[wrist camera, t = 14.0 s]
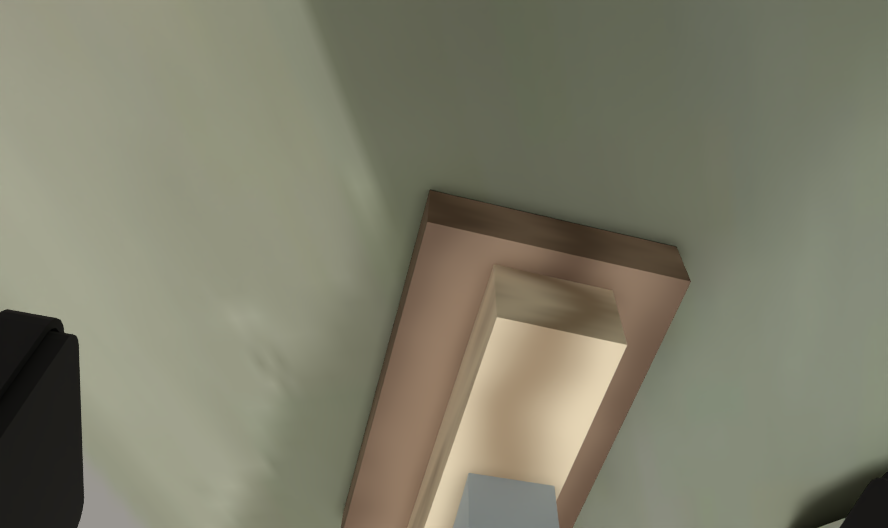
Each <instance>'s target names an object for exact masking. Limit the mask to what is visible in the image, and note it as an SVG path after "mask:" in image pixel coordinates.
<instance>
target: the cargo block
mask: <svg viewBox="0 0 888 528" xmlns="http://www.w3.org/2000/svg"><path fill="white" fill-rule="evenodd" d="M453 528H559V520H558V512H557V504H556V496H555V487H554V486H552V485H545V484H539V483H532V482H526V481H519V480H512V479H506V478H499V477H493V476H486V475H480V474H473V473H468V477H467V480H466V484H465V487H464V491H463V494H462V498H461V501H460V505H459V508H458V511H457V515H456V518H455V522H454V525H453Z"/></svg>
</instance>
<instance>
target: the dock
mask: <svg viewBox="0 0 888 528" xmlns="http://www.w3.org/2000/svg"><path fill="white" fill-rule="evenodd" d="M494 264H495V265H500V266H504V267H509V268H513V269H518V270H522V271H527V272H531V273H536V274H540V275H545V276H549V277H554V278H558V279H563V280H567V281H572V282H576V283H581V284H585V285H590V286H594V287H599V288H603V289H608V290H612V291H613V294H614V298H615V301H616V305H617V309H618V312H619V316H620V320H621V324H622V327H623V331H624V335H625V338H626V342H627V347H626V349H625V351H624V353H623V356H622V358H621V360H620V362H619V364H618V367H617V369H616V371H615V373H614V375H613V377H612V380H611V382H610V384H609V386H608V388H607V391H606V393H605V395H604V397H603V399H602V402H601V404H600V406H599V408H598V410H597V413H596V415H595V417H594V419H593V421H592V424H591V426H590V428H589V430H588V432H587V435H586V437H585V439H584V441H583V443H582V446H581V448H580V450H579V452H578V454H577V457H576V459H575V461H574V463H573V465H572V468H571V470H570V472H569V474H568V476H567V479H566V481H565V483H564V485H563V487H562V490H561V492H560V494H559V496H558V498H557V501H556V504H557V512H558V520H559V528H573V525H574V523H575V521H576V519H577V517H578V515H579V513H580V511H581V509H582V507H583V505H584V503H585V501H586V498H587V496H588V494H589V492H590V490H591V488H592V486H593V484H594V482H595V480H596V478H597V476H598V474H599V471H600V469H601V467H602V465H603V463H604V461H605V459H606V457H607V455H608V453H609V451H610V449H611V447H612V444H613V442H614V440H615V438H616V436H617V434H618V432H619V430H620V428H621V426H622V424H623V422H624V420H625V417H626V415H627V413H628V411H629V409H630V407H631V405H632V403H633V401H634V399H635V397H636V395H637V392H638V390H639V388H640V386H641V384H642V382H643V380H644V378H645V376H646V374H647V372H648V370H649V368H650V365H651V363H652V361H653V359H654V357H655V355H656V353H657V351H658V349H659V347H660V345H661V343H662V341H663V338H664V336H665V334H666V332H667V330H668V328H669V326H670V324H671V322H672V320H673V318H674V316H675V314H676V311H677V309H678V307H679V305H680V303H681V301H682V299H683V297H684V295H685V293H686V291H687V289H688V287H689V284H690V282H691V281H690V278H689V276H688V273H687V271H686V269H685V266H684V264H683V261H682V259H681V257H680V254H679V252H678V249H677V247H674V246H670V245H666V244H661V243H657V242H653V241H648V240H644V239H640V238H635V237H631V236H627V235H622V234H618V233H614V232H609V231H605V230H601V229H596V228H592V227H588V226H583V225H579V224H575V223H570V222H566V221H562V220H557V219H553V218H549V217H544V216H540V215H536V214H531V213H527V212H523V211H518V210H514V209H510V208H505V207H501V206H497V205H492V204H488V203H484V202H479V201H475V200H471V199H466V198H462V197H458V196H453V195H449V194H445V193H440V192H436V191H432V190H430V191H429V195H428V198H427V202H426V206H425V210H424V213H423V217H422V221H421V224H420V228H419V232H418V236H417V239H416V243H415V247H414V251H413V254H412V258H411V262H410V266H409V269H408V273H407V277H406V281H405V284H404V288H403V292H402V295H401V299H400V303H399V307H398V310H397V314H396V318H395V322H394V325H393V329H392V333H391V337H390V340H389V344H388V348H387V352H386V355H385V359H384V363H383V366H382V370H381V374H380V378H379V381H378V385H377V389H376V393H375V396H374V400H373V404H372V408H371V411H370V415H369V419H368V423H367V426H366V430H365V434H364V437H363V441H362V445H361V449H360V452H359V456H358V460H357V464H356V467H355V471H354V475H353V479H352V482H351V486H350V490H349V494H348V497H347V501H346V505H345V508H344V512H343V518H342V525H341V528H407V527H408V524H409V521H410V518H411V514H412V511H413V508H414V505H415V502H416V499H417V496H418V493H419V490H420V487H421V484H422V481H423V478H424V475H425V472H426V469H427V466H428V463H429V460H430V457H431V454H432V451H433V448H434V445H435V442H436V439H437V436H438V432H439V429H440V426H441V423H442V420H443V417H444V414H445V411H446V408H447V405H448V402H449V399H450V396H451V393H452V390H453V387H454V384H455V381H456V378H457V375H458V372H459V369H460V366H461V363H462V360H463V357H464V354H465V351H466V347H467V344H468V341H469V338H470V335H471V332H472V329H473V326H474V323H475V320H476V317H477V314H478V311H479V308H480V305H481V302H482V299H483V296H484V293H485V290H486V287H487V284H488V281H489V278H490V275H491V272H492V269H493V265H494Z"/></svg>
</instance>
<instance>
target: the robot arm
mask: <svg viewBox="0 0 888 528" xmlns="http://www.w3.org/2000/svg"><path fill="white" fill-rule="evenodd" d="M83 504H84V486H83V456H82V427H81V397H80V368H79V344H78V339H77V337H76V336H75V335H73V334H67V333H64V327H63V324H62V322H61V320H60V319H57V318H53V317H47V316H42V315H36V314H30V313H25V312H19V311H14V310H8V309H7V310H4V311H1V312H0V528H77V527H78V524H79V521H80V518H81V514H82V510H83ZM839 528H888V472H886V473H885V474H884V476H883V477H882V478H876V479H874V480H872V481H871V482H870V483H869V484H868V486H867V487H866V489H865V490H864V492H863V493H862V495H861V496H860V498H859V499H858V501H857V502H856V504H855V505H854V507H853V508H852V510H851V511H850V513H849V514H848V516H847V517H846V518H845V520H844V521H843V523H842V524H841V526H840V527H839Z"/></svg>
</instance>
